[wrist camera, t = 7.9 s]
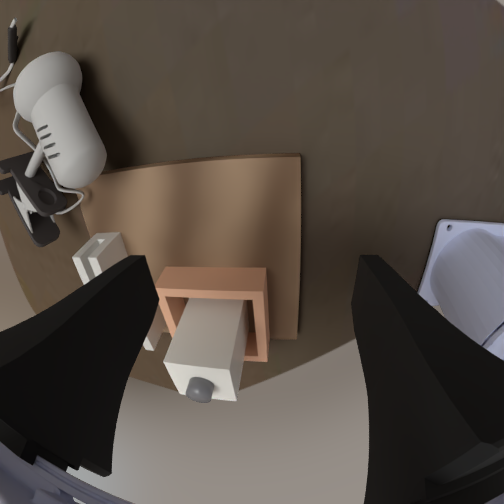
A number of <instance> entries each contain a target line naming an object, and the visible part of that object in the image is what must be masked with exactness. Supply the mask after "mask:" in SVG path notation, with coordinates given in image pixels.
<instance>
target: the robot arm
mask: <svg viewBox="0 0 504 504" xmlns="http://www.w3.org/2000/svg"><path fill="white" fill-rule="evenodd" d="M448 225H450V226H449V228H447V226H448ZM159 300H160V299H159V296H158V293H157V290H156V287H155V284H154V282H153V279H152V276H151V272H150V269H149V266H148V263H147V260H146V257H145V255H130V256H128V257H126V258H124V259H122V260H121V261H119V262H117V263H116V264H114V265H113V266H111V267H110V268H108V269H107V270H105V271H104V272H102V273H101V274H99V275H98V276H96V277H95V278H93V279H92V280H90V281H89V282H88V283H86V284H85V285H83V286H82V287H80V288H79V289H77V290H76V291H74V292H73V293H71V294H70V295H68V296H67V297H65V298H64V299H62V300H61V301H59V302H58V303H56V304H54V305H53V306H51V307H49V308H48V309H46V310H44V311H42V312H41V313H39V314H37V315H35V316H34V317H31V318H29V319H28V320H26V321H23V322H21V323H19V324H17V325H16V326H13V327H11V328H9V329H6V330H4V331H1V332H0V504H79V503H77V502H75V501H74V500H73V497H75V498H76V499H78V500H80V501H82V502H84V503H86V504H134V503H131V502H129V501H126V500H124V499H121V498H119V497H116V496H113V495H111V494H109V493H107V492H105V491H102V490H100V489H98V488H96V487H94V486H92V485H90V484H88V483H86V482H84V481H81V480H80V479H78V478H76V477H74V476H72V475H70V474H69V473H67V472H66V470H67V467H68V466H69V467H71V468H73V469H75V470H79V467H80V466H81V467H83V468H85V469H87V470H89V471H91V472H93V473H96V474H98V475H100V476H103V477H106V476H109V475H110V474H111V473H112V453H113V443H114V435H115V429H116V423H117V418H118V413H119V409H120V404H121V400H122V397H123V393H124V390H125V386H126V383H127V380H128V377H129V375H130V372H131V370H132V367H133V365H134V363H135V361H136V358H137V356H138V354H139V352H140V349H141V347H142V345H143V343H144V341H145V338H146V336H147V334H148V332H149V330H150V327H151V325H152V323H153V320H154V317H155V314H156V310H157V307H158V303H159ZM351 305H352V314H353V323H354V331H355V336H356V340H357V344H358V349H359V353H360V358H361V363H362V367H363V372H364V377H365V383H366V388H367V395H368V409H369V463H368V476H367V485H366V493H365V500H364V504H504V223H495V222H482V221H467V220H450V219H442V220H440V221H439V222H438V224H437V227H436V231H435V235H434V239H433V243H432V247H431V250H430V254H429V258H428V261H427V264H426V268H425V271H424V274H423V277H422V281H421V284H420V287H419V290H418V292H416V291H415V290H414V289H413V288H412V287H411V286H410V285H409V284H408V283H407V282H406V281H405V280H404V279H403V278H402V277H401V276H400V275H399V274H397V273H396V272H395V271H394V270H393V269H392V268H391V267H390V266H389V265H388V264H387V263H386V262H385V261H384V260H383V259H382V258H381V257H379V256H378V255H360V258H359V264H358V270H357V276H356V282H355V287H354V292H353V297H352V302H351ZM436 305H440V307H441V309H442V311H443V313H444V316H445V318H444V317H443V316H442V315H441V314H440V313H439V312H438V311H437V310H436V309H434V308H433V307H432V306H436Z"/></svg>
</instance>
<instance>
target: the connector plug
mask: <svg viewBox="0 0 504 504" xmlns="http://www.w3.org/2000/svg"><path fill="white" fill-rule="evenodd" d="M248 331H249V320H248V309H247V300H238V299H209V298H189V300H188V302H187V304H186V307H185V309H184V312H183V314H182V316H181V319H180V321H179V324H178V326H177V329H176V331H175V334H174V336H173V339H172V341H171V344H170V346H169V349H168V351H167V354H166V356H165V359H164V361H163V362H164V364H165V366H166V368H167V370H168V372H169V374H170V376H171V378H172V380H173V382H174V384H175V385H176V387H177V389H178V391H179V393H180V394H183V395H186V396H187V397H188V398H190V399H191V400H193V401H196V402H201V403H208V402H210V401H211V399H219V400H229V401H237V395H238V390H239V384H240V379H241V373H242V367H243V361H244V355H245V349H246V343H247V337H248Z"/></svg>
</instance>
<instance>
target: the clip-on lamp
mask: <svg viewBox="0 0 504 504" xmlns="http://www.w3.org/2000/svg"><path fill="white" fill-rule="evenodd" d="M16 21H17V19H16V18H14V19H13V21H12V23H11V26H10V27H9V28H8V60H9V63H10V66H9V68H8V70H7V72H6V73H5V74H4V75H3V76H2V77H1V78H0V82H1V81H2V80H3V79H4V78H5V77H6V76H7V75H8V74H9V73H10V71H11V70H12V68H13V65H14V62H15V61H16V59H17V54H16V50H18V47H17V40H18V36H17V27H16V25H15V23H16ZM13 86H15V87H14V92H13V96H14V103H15V108H16V110H17V112H16V116H15V119H14V122H13V129H14V131H15V133H16V134H17V135H18V136H19V137H20V138H21V139H22V140H23V141H25V142H26V143H27V144H28V145H29V146H30V147H31V148H32V149H33V150H34V152H30V153H26V154H22V155H19V156H15V157H12V158H9V159H5V160H2V161H0V172H1V173H2V174H6V173H9V172H10V173H11V174H12V177H9V178H6V179H3V180H0V195H4V194H6V193H8V194H9V196H10V198H11V201H12V203H13V205H14V207H15V209H16V211H17V213H18V215H19V217H20V219H21V221H22V222H23V224H24V226H25V228H26V230H27V232H28V234H29V235H30V237H31V239H32V241H33V242H34V244H35V245H36V246H38V247H43V246H46V245H48V244H49V243H51V242H53V241H55V240H56V239H57V238H58V237H59V234H60V230H59V228H58V226H57V225H56V223H55V220H54V216H53V214H64V213H66V212H68V211H70V210H72V209H73V208H74V207H76V206H77V205H78V204H79V203H80V202H81V201H82V200H83V198H84V195H85V194H84V192H83V191H81V190H72V189H64V188H62V187H61V185H62V186H64V187H67V188H74V189H76V188H82V187H85V186H87V185H89V184H91V183H92V182H93V181H95V180H96V178H97V177H98V176H99V175H100V174H101V172H102V170H103V168H104V166H105V162H106V159H107V153H106V150H105V146H104V144H103V142H102V140H101V138H100V136H99V134H98V132H97V130H96V128H95V126H94V124H93V122H92V120H91V118H90V116H89V114H88V112H87V109H86V107H85V105H84V103H83V101H82V98H81V96H80V91H81V86H82V72H81V69H80V66H79V64H78V62H77V61H76V60H75V59H74V58H73V57H72V56H71V55H69V54H67V53H64V52H60V51H58V52H50V53H47V54H44V55H42V56H39V57H38V58H36V59H35V60H33V61H32V62H30V63H29V64H28V65H27V66H26V67H25V68H24V69H23V70H22V72H21V73H20V75H19V76H18V78H17V81H16V83H15V84H11V85H8V86H6V87H4V88H2V89H0V92H1V91H3V90H5V89H8V88H10V87H13ZM21 116H22V117H23V118H24V119H25V120H27V121H29V122H32V123H33V126H34V128H35V131H36V133H37V136H38V139H39V143H38V145H37V146H36V145H35V144H34V143H33V142H32V141H31V140H30V139H28V138H27V137H26V136H25V135H24V134H23V133H22V132H21V131H20V130H19V129H18V123H19V120H20V117H21ZM45 155H46V156H45ZM42 160H43V162H44V163H45V165H46V166H47V168H48V170H49V171H50V173H51V175H52V177H53V180H54V183H55V185H54V183H53V182H52V181H51V180H50V179H49V177H48V176H47V175H46V174H45V172H44V171H43V170H42V168H41V167H40V164H41V162H42ZM60 191H61V192H66V193H79V194H81V195H82V197H81V199H80V200H79V201H78V202H77V203H75V204H74V205H73V206H71V207H69V208H68V209H65V207H66V204H67V200H66V198H65V197H64V195H63V194H62V193H61V192H60ZM64 209H65V210H64Z"/></svg>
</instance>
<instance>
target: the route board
mask: <svg viewBox="0 0 504 504" xmlns="http://www.w3.org/2000/svg"><path fill="white" fill-rule="evenodd" d="M75 190H81V191H83V192H84V194H85V195H84V198H83V200H82V201H81V202H80V203H79V204H80V207H81V210H82V213H83V217H84V220H85V223H86V226H87V229H88V232H89V235H90V237H91V238H92V237H93V236H94V235H95V234H96V233H111V232H120V233H121V237H122V240H123V243H124V246H125V249H126V252H127V255H128V256H130V255H145V257H146V260H147V263H148V266H149V269H150V272H151V276H152V279H153V282H154V284H156V282H157V280H158V279H159V277H160V275H161V274H162V272H163V270H164V269H165V267H239V268H266V273H267V292H268V312H269V332H270V339H297V329H298V310H299V286H300V252H301V158H300V153H281V154H251V155H233V156H218V157H206V158H195V159H185V160H176V161H168V162H160V163H153V164H145V165H139V166H132V167H126V168H120V169H114V170H109V171H103V172H101V174H100V175H99V176H98V177H97V178H96V180H95V181H93V182H92V183H91V184H89V185H87V186H85V187H82V188H76V189H75ZM77 197H78V200H80V199H81V197H82V195H81V194H79V193H77ZM183 299H184V303H185V306H186V304H187V302H188V300H189V298H187V297H183ZM247 309H248V320H249V331H248V332H252V333H256V329H255V319H254V309H253V300H247ZM162 332H169V333H170V331H169V329H168V326H167V324H166V325H165V327H164V329H163V331H162Z"/></svg>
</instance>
